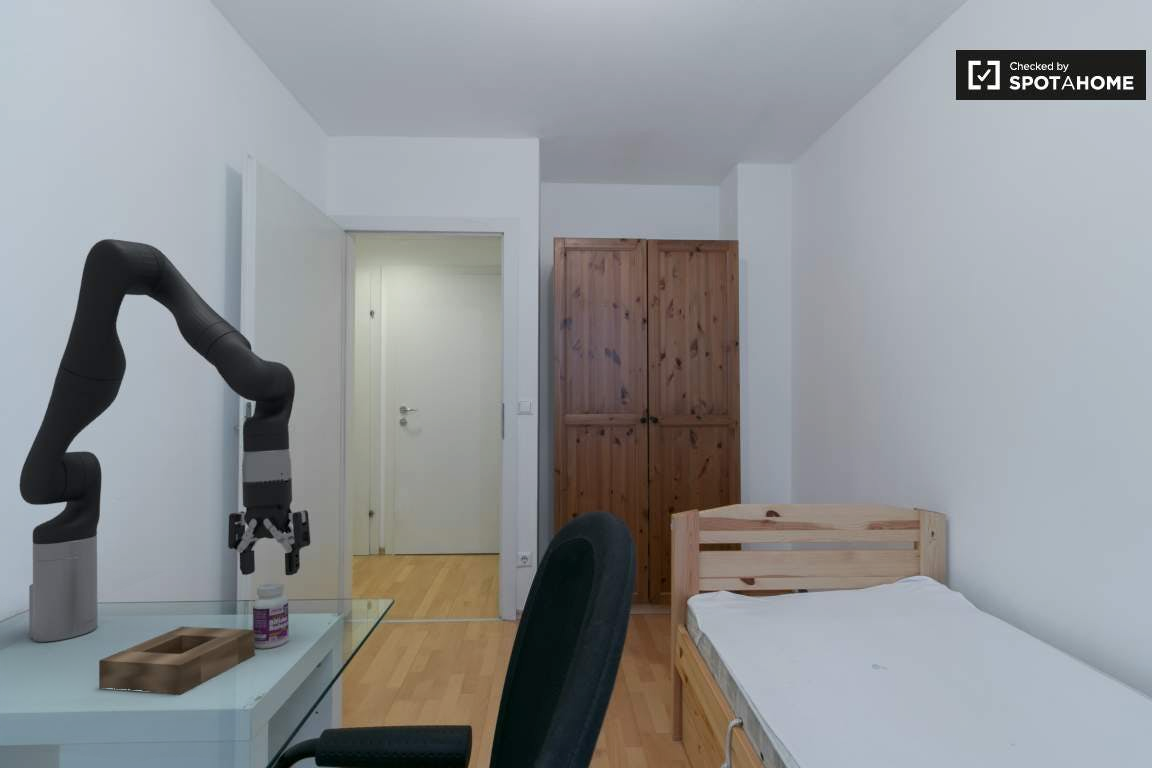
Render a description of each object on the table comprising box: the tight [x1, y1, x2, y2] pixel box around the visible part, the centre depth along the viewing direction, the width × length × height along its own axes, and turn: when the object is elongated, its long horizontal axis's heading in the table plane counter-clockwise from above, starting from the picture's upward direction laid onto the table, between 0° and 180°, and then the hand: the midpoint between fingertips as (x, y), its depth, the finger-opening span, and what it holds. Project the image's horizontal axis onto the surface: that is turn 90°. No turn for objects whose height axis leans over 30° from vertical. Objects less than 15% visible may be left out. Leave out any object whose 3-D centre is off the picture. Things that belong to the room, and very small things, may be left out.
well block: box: [98, 626, 256, 695], centre depth 94 cm, size 14×14×4 cm
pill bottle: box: [252, 582, 290, 649], centre depth 104 cm, size 5×5×10 cm
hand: (270, 574), depth 105 cm, fingers open, 8 cm apart
